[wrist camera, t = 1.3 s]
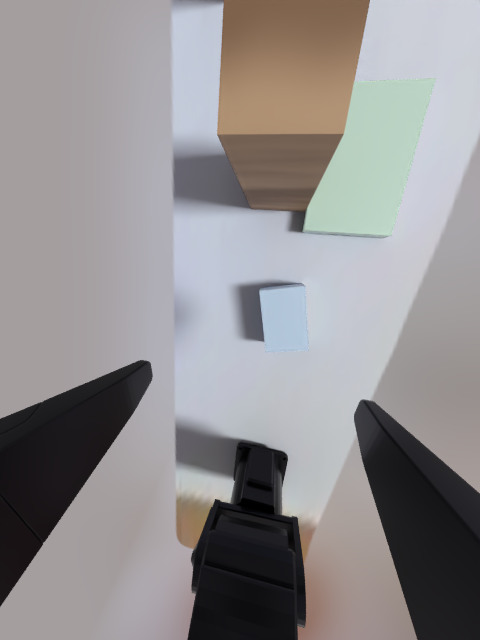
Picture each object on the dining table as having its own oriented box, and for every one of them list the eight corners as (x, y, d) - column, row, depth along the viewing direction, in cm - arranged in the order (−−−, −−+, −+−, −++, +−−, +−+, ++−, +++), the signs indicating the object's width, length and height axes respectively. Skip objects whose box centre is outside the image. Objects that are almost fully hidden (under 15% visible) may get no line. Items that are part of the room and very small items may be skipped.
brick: (304, 339, 21) (308, 350, 18) (267, 341, 22) (265, 352, 19) (301, 283, 20) (305, 285, 17) (261, 287, 21) (259, 290, 18)
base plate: (383, 237, 17) (391, 235, 16) (302, 232, 18) (303, 230, 17) (423, 93, 15) (435, 78, 13) (324, 96, 16) (328, 83, 14)
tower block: (305, 211, 18) (344, 133, 7) (251, 208, 19) (217, 134, 8) (315, 152, 17) (377, -40, 6) (256, 152, 17) (224, -20, 7)
